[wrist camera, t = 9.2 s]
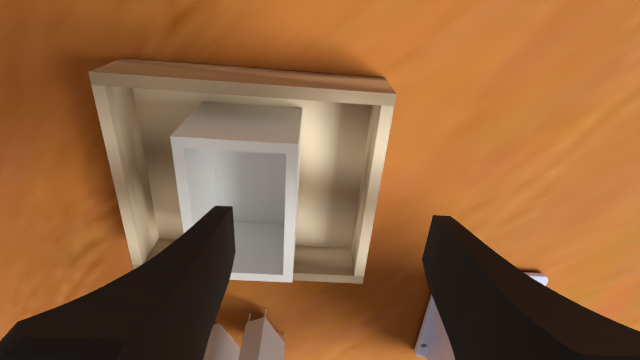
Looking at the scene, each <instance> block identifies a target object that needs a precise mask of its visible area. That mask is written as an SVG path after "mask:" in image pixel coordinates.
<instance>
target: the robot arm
mask: <svg viewBox="0 0 640 360" xmlns="http://www.w3.org/2000/svg"><path fill="white" fill-rule="evenodd" d="M235 253H236V249H235V234H234V220H233V206H214V207H213V208H212V209H211V210H210V211H209V212H207V213H206V214H205V215H204V216H203V217H202V218H201V219H200V220H199V221H197V222H196V223H195V224H194V225H193V226H192V227H191V228H190V229H188V230H187V231H186V232H185V233H184V234H183V235H181V236H180V237H179V238H178V239H177V240H175V241H174V242H173V243H171V244H170V245H169V246H168V247H166V248H165V249H164V250H162V251H161V252H160V253H158V254H157V255H156V256H154V257H153V258H151V259H150V260H148V261H147V262H145V263H143V264H142V265H140V266H139V267H137V268H136V269H134V270H132V271H131V272H129V273H127V274H125V275H123V276H122V277H120V278H118V279H116V280H114V281H112V282H111V283H109V284H107V285H105V286H103V287H101V288H99V289H97V290H95V291H93V292H91V293H89V294H87V295H84V296H82V297H80V298H78V299H75V300H73V301H71V302H68V303H66V304H64V305H61V306H59V307H56V308H53V309H51V310H48V311H46V312H43V313H40V314H38V315H35V316H32V317H30V318H27V319H24V320H21V321H18V322H17V323H16V324H15V325H14V326H13V328H12V329H11V330H10V331H9V332H8V333H7V334H6V335H5V336H4V338H3V339H2V340H1V341H0V360H203V359H204V355H205V351H206V347H207V343H208V340H209V337H210V333H211V330H212V327H213V325H214V322H215V319H216V316H217V313H218V311H219V308H220V305H221V302H222V299H223V297H224V294H225V291H226V288H227V285H228V282H229V279H230V276H231V272H232V267H233V263H234V258H235ZM422 260H423V265H424V270H425V274H426V278H427V283H428V286H429V289H430V291H431V297H430V300H429V304H428V307H427V310H426V314H425V317H424V320H423V323H422V327H421V330H420V333H419V336H418V340H417V343H416V346H415V349H414V351H415V355H416V356H418V357H427V358H428V360H640V331H637V330H634V329H632V328H629V327H627V326H624V325H622V324H620V323H618V322H615V321H613V320H611V319H609V318H606V317H604V316H602V315H600V314H597V313H595V312H593V311H591V310H589V309H587V308H585V307H583V306H581V305H579V304H577V303H575V302H573V301H571V300H570V299H568V298H566V297H564V296H562V295H560V294H558V293H556V292H555V291H553V290H551V289H549V288H548V287H546V284H547V282H548V278H547V276H546V275H545V274H542V273H527V272H522V271H521V270H519V269H518V268H516V267H515V266H514V265H512V264H511V263H509V262H508V261H507V260H505V259H504V258H502V257H501V256H500V255H499V254H497V253H496V252H495V251H493V250H492V249H491V248H489V247H488V246H487V245H486V244H484V243H483V242H482V241H481V240H479V239H478V238H477V237H476V236H475V235H473V234H472V233H471V232H470V231H468V230H467V229H466V228H465V227H464V226H462V225H461V224H460V223H459V222H457V221H456V220H455V219H453V218H452V217H451V216H438V215H433V218H432V222H431V226H430V230H429V234H428V238H427V242H426V246H425V250H424V254H423V258H422Z"/></svg>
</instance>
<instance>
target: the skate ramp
mask: <svg viewBox="0 0 640 360" xmlns="http://www.w3.org/2000/svg"><path fill="white" fill-rule="evenodd" d="M266 309H267V308H265V311H264V317H262V318H259V319H256V320H253V321H250V317H251V313H250V314H249V319H248V322H247V323H246V325H245V330H244V335H243V340H242V345H241V348H240V347H239V346H238V344H237V343H236V342H235V341H234V340H233V339H232V337H231V336H230V335H229V334H228V333H227V332H226V330H225V329H224V328H223V327H222V326H221V324H220V323H217V324H214V325H213V327H212V330H211V333H210V337H209V340H208V343H207V347H206V351H205V355H204V359H203V360H284V350H285V343H284V335H285V333H283V340H282V339H281V337H280V336H279V335H278V333H277V332H276V331H275V329H274V328H273V327H272V325H271V324H270V323H269V321H268V320H267V319H266V317H265V315H266Z"/></svg>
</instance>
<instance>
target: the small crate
mask: <svg viewBox="0 0 640 360" xmlns="http://www.w3.org/2000/svg"><path fill="white" fill-rule="evenodd" d="M301 130H302V108H297V107H281V106H266V105H251V104H235V103H220V102H204V101H203V102H202V103H201V104H200V105H199V106H198V107H197V108H196V109H195V110H194V111H193V112H192V113H191V115H190V116H189V117H188V118H187V119H186V120H185V121H184V122H183V123H182V124H181V125H180V126H179V127H178V128H177V129H176V131H175V132H174V133H173V134H172V135H171V136H170V139H171V146H172V154H173V161H174V168H175V175H176V182H177V190H178V197H179V204H180V211H181V218H182V226H183V233H185V232H186V231H187V230H188V229H190V228H191V227H192V226H193V225H194V224H195V223H196V222H197V221H199V220H200V219H201V218H202V217H203V216H204V215H205V214H206V213H207V212H209V211H210V210H211V209H212V208H213V207H214V206H233V220H234V234H235V249H236V253H235V258H234V263H233V267H232V272H231V276H230V279H229V280H248V281H270V282H292V280H293V268H294V256H295V244H296V232H297V214H298V193H299V172H300V151H301Z"/></svg>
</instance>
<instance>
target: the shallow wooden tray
mask: <svg viewBox="0 0 640 360" xmlns="http://www.w3.org/2000/svg"><path fill="white" fill-rule="evenodd" d="M88 73H89V77H90V82H91V86H92V91H93V95H94V99H95V104H96V108H97V112H98V117H99V121H100V125H101V130H102V134H103V139H104V143H105V147H106V152H107V156H108V160H109V165H110V169H111V174H112V178H113V182H114V187H115V191H116V195H117V200H118V204H119V208H120V213H121V217H122V222H123V226H124V230H125V235H126V239H127V243H128V248H129V252H130V257H131V261H132V265H133V270H134V269H136V268H137V267H139V266H140V265H142V264H143V263H145V262H147V261H148V260H150V259H151V258H153V257H154V256H156V255H157V254H158V253H160V252H161V251H162V250H164V249H165V248H166V247H168V246H169V245H170V244H171V243H173V242H174V241H175V240H177V239H178V238H179V237H180V236H181V235H183V234H184V233H183V226H182V218H181V211H180V204H179V197H178V190H177V182H176V175H175V168H174V161H173V154H172V146H171V139H170V136H171V135H172V134H173V133H174V132H175V131H176V129H177V128H178V127H179V126H180V125H181V124H182V123H183V122H184V121H185V120H186V119H187V118H188V117H189V116H190V115H191V113H192V112H193V111H194V110H195V109H196V108H197V107H198V106H199V105H200V104H201V103H202V102H203V101H204V102H220V103H235V104H251V105H266V106H281V107H297V108H302V130H301V151H300V172H299V193H298V214H297V232H296V244H295V256H294V268H293V280H298V281H318V282H338V283H358V284H363V279H364V273H365V267H366V262H367V256H368V250H369V245H370V239H371V233H372V228H373V222H374V216H375V211H376V205H377V199H378V194H379V188H380V183H381V177H382V171H383V166H384V160H385V154H386V149H387V143H388V137H389V132H390V126H391V120H392V115H393V109H394V103H395V98H396V93H395V91H394V90H393V89H392V87H391V86H390V84H389V83H388V81H387V80H386V78H383V77H370V76H356V75H343V74H329V73H316V72H302V71H289V70H275V69H262V68H248V67H235V66H221V65H207V64H194V63H180V62H167V61H153V60H140V59H126V58H121V59H118V60H116V61H113V62H111V63H108V64H106V65H103V66H101V67H99V68H96V69H94V70H91V71H89V72H88Z"/></svg>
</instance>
